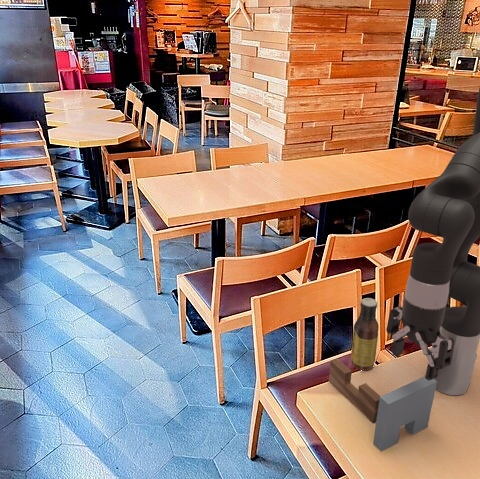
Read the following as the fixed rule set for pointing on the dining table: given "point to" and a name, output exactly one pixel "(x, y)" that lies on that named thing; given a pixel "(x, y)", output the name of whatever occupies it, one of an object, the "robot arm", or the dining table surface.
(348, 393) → the walnut board
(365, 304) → the sauce bottle
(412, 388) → the grey block
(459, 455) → the dining table surface
